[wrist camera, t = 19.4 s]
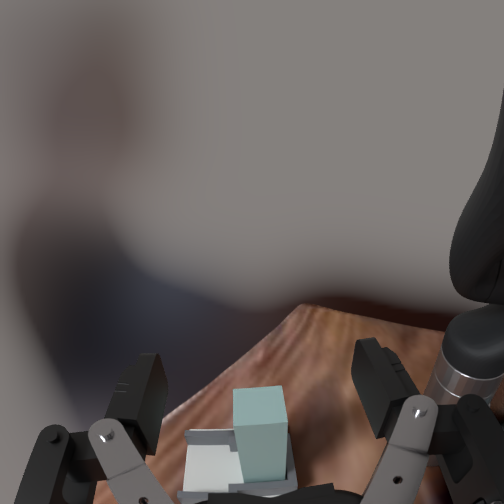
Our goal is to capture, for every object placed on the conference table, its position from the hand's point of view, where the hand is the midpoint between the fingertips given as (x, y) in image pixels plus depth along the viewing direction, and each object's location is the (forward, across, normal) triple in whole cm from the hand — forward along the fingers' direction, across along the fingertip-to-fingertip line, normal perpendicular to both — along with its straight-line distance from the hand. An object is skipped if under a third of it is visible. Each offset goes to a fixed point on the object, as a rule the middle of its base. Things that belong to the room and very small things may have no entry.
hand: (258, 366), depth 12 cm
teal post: (+11, 0, +29) cm, 31 cm away
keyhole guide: (+11, +3, +30) cm, 32 cm away
